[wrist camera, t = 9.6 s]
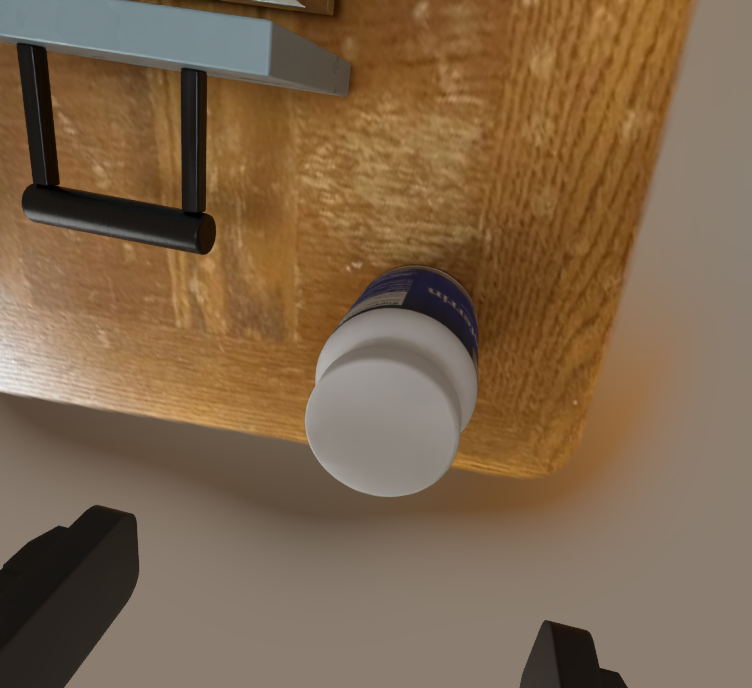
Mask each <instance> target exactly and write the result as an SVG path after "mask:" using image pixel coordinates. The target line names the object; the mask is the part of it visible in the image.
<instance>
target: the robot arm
mask: <svg viewBox="0 0 752 688" xmlns="http://www.w3.org/2000/svg"><path fill="white" fill-rule="evenodd" d="M138 557H139V556H138V538H137V522H136V518H135V516H134V515H133V514H131V513H127V512H123V511H120V510H116V509H111V508H107V507H104V506H100V505H95V506H92V507H90V508H89V509H88V510H86V511H85V512H84V513H83V514H82V515H81V516H80V517H79V518H78V519H77V520H76V521H75V522H74V523H73V524H72V525H71V526H70V527H69V528H66V527H62V526H57V527H55V528H54V529H52V530H50V531H48V532H46V533H44V534H43V535H41V536H39V537H37V538H35V539H33V540H31V541H30V542H28V543H27V544H26V545H25V546H24V547H22V548H21V549H20V550H19V551H18V552H17V553H16V554H15V555H14V556H13V557H12V558H10V559H9V560H8V561H7V562H6V563H5V564H4V565H3V568H2V569H1V570H0V688H64V687H65V686H66V684H67V683H68V682H69V680H70V679H71V678H72V676H73V675H74V674H75V672H76V671H77V670H78V668H79V667H80V665H81V664H82V663H83V661H84V660H85V659H86V657H87V656H88V655H89V653H90V652H91V651H92V649H93V648H94V646H95V645H96V644H97V642H98V641H99V640H100V638H101V637H102V635H103V634H104V633H105V632H106V630H107V629H108V628H109V626H110V625H111V623H112V622H113V621H114V619H115V618H116V617H117V615H118V614H119V613H120V611H121V610H122V609H123V607H124V606H125V605H126V603H127V602H128V600H129V598H130V597H131V595H132V593H133V590H134V588H135V586H136V583H137V579H138V575H139V558H138ZM520 688H628V687H627V686H626V684H625V683H624V681H623V679H622V678H621V676H620V675H619V673H617V672H613V671H610V670H606V669H602V668H600V667H599V663H598V659H597V654H596V650H595V646H594V642H593V638H592V636H591V634H590V632H588V631H587V630H583V629H579V628H575V627H571V626H567V625H563V624H560V623H555V622H552V621H547V620H545V621H544V622H543V624H542V625H541V628H540V630H539V633H538V635H537V638H536V640H535V643H534V646H533V648H532V651H531V653H530V656H529V658H528V661H527V663H526V666H525V668H524V671H523V674H522V678H521V683H520Z"/></svg>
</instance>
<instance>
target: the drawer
mask: <svg viewBox="0 0 752 688" xmlns="http://www.w3.org/2000/svg"><path fill="white" fill-rule="evenodd" d="M220 1H228V2H235V3H243V4H250V5H257V6H265V7H272V8H280V9H287V10H294V11H302V12H309V13H316V14H324V15H331V16H332V15H333V10H334V0H220ZM0 42H2V43H8V44H13V45H17V52H18V61H19V69H20V77H21V85H22V94H23V102H24V110H25V119H26V127H27V135H28V144H29V152H30V160H31V169H32V177H33V184H31V185H29V186H28V187H27V188H26V189H25V191H24V193H23V196H22V208H23V211H24V213H25V215H26V216H27V217H28V218H29V219H30V220H31V221H33V222H36V223H41V224H46V225H51V226H56V227H61V228H66V229H72V230H77V231H82V232H87V233H92V234H97V235H103V236H108V237H113V238H118V239H123V240H128V241H133V242H139V243H144V244H149V245H154V246H159V247H164V248H169V249H175V250H180V251H185V252H190V253H195V254H200V255H205V254H208V253H209V252H210V251H211V249H212V247H213V245H214V242H215V237H216V224H215V221H214V219H213V217H212V216H211V215H209V214H206V213H202V212H205V211H206V132H207V76H212V77H219V78H225V79H232V80H238V81H245V82H251V83H258V84H264V85H271V86H277V87H284V88H290V89H297V90H304V91H310V92H317V93H323V94H330V95H336V96H343V97H347V96H348V89H349V80H350V71H351V63H349V62H348V61H346V60H344V59H342V58H340V57H338V56H336V55H334V54H333V53H331V52H329V51H327V50H325V49H323V48H321V47H320V46H318V45H316V44H314V43H312V42H310V41H308V40H307V39H305V38H303V37H301V36H299V35H297V34H295V33H293V32H292V31H290V30H288V29H286V28H284V27H282V26H280V25H279V24H277V23H275V22H273V21H271V20H267V19H260V18H252V17H245V16H238V15H231V14H223V13H216V12H209V11H202V10H195V9H187V8H180V7H173V6H166V5H158V4H151V3H144V2H137V1H129V0H0ZM47 51H50V52H56V53H62V54H68V55H75V56H81V57H88V58H94V59H101V60H108V61H114V62H121V63H127V64H134V65H140V66H147V67H153V68H160V69H166V70H173V71H179V72H181V145H182V209H179V208H174V207H168V206H163V205H157V204H152V203H147V202H141V201H136V200H130V199H125V198H119V197H114V196H109V195H103V194H98V193H92V192H87V191H82V190H76V189H71V188H65V187H60V186H55V185H59V184H60V180H59V170H58V160H57V150H56V140H55V130H54V120H53V111H52V101H51V91H50V81H49V71H48V61H47Z"/></svg>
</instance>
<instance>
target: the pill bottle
mask: <svg viewBox="0 0 752 688" xmlns="http://www.w3.org/2000/svg"><path fill="white" fill-rule="evenodd" d="M315 383H316V386H315V388H314V390H313V391H312V393H311V395H310V398H309V400H308V404H307V407H306V415H305V427H306V434H307V438H308V441H309V444H310V447H311V449H312V451H313V453H314V455H315V456H316V458H317V459H318V461H319V462H320V464H321V465H322V466H323V467H324V468H325V469H326V470H327V471H328V472H329V473H330V474H331V475H332V476H333V477H335V478H336V479H337V480H339V481H340V482H342V483H343V484H345V485H347V486H349V487H351V488H352V489H354V490H357V491H360V492H364V493H367V494H370V495H375V496H385V497H386V496H387V497H396V496H403V495H408V494H413V493H416V492H419V491H421V490H423V489H425V488H427V487H429V486H430V485H432V484H433V483H435V482H436V481H437V480H438V479H440V478H441V477H442V476H443V475H444V474H445V473H446V471H447V470H448V469H449V467H450V466H451V464H452V462H453V460H454V458H455V456H456V453H457V450H458V446H459V441H460V434H461V433H462V432H463V430H464V429H465V428H466V426H467V425H468V423H469V421H470V419H471V417H472V415H473V412H474V409H475V405H476V400H477V393H478V319H477V313H476V309H475V306H474V304H473V301H472V299H471V298H470V296H469V294H468V293H467V292H466V290H465V289H464V288H463V287H462V286H461V284H459V283H458V282H457V281H456V280H455V279H454V278H452V277H451V276H450V275H448V274H446V273H445V272H443V271H440V270H438V269H435V268H431V267H427V266H418V265H413V266H403V267H398V268H395V269H392V270H390V271H387V272H386V273H384V274H382V275H381V276H379V277H378V278H376V279H375V280H374V281H373V282H372V283H371V284H370V285H369V286H368V287H367V288H366V289H365V290H364V292H363V293H362V294H361V296H360V297H359V298H358V299H357V301H356V302H355V304H354V305H353V306H352V308H351V309H350V310H349V312H348V313H347V314H346V316H345V317H344V318H343V320H342V321H341V322H340V324H339V325H338V326H337V328H336V329H335V330H334V332H333V333H332V334H331V336H330V337H329V339H328V340H327V342H326V343H325V345H324V347H323V350H322V352H321V354H320V356H319V359H318V363H317V368H316V377H315Z"/></svg>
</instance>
